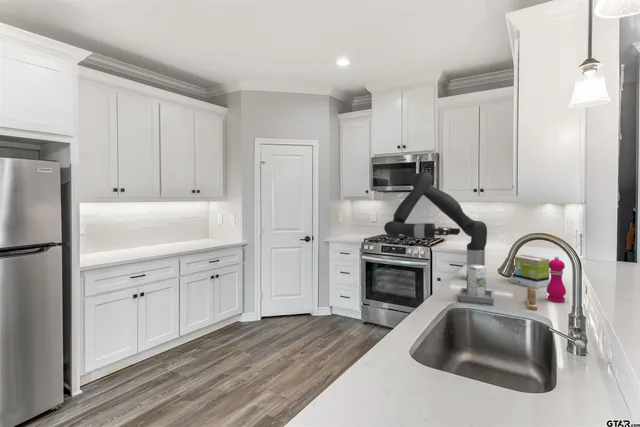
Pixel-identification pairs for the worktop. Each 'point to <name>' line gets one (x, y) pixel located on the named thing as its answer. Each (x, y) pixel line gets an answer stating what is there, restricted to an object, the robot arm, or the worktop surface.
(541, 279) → the tea box
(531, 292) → the bench stop
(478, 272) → the syrup box
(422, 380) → the worktop surface
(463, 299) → the tray
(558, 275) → the pepper mill
